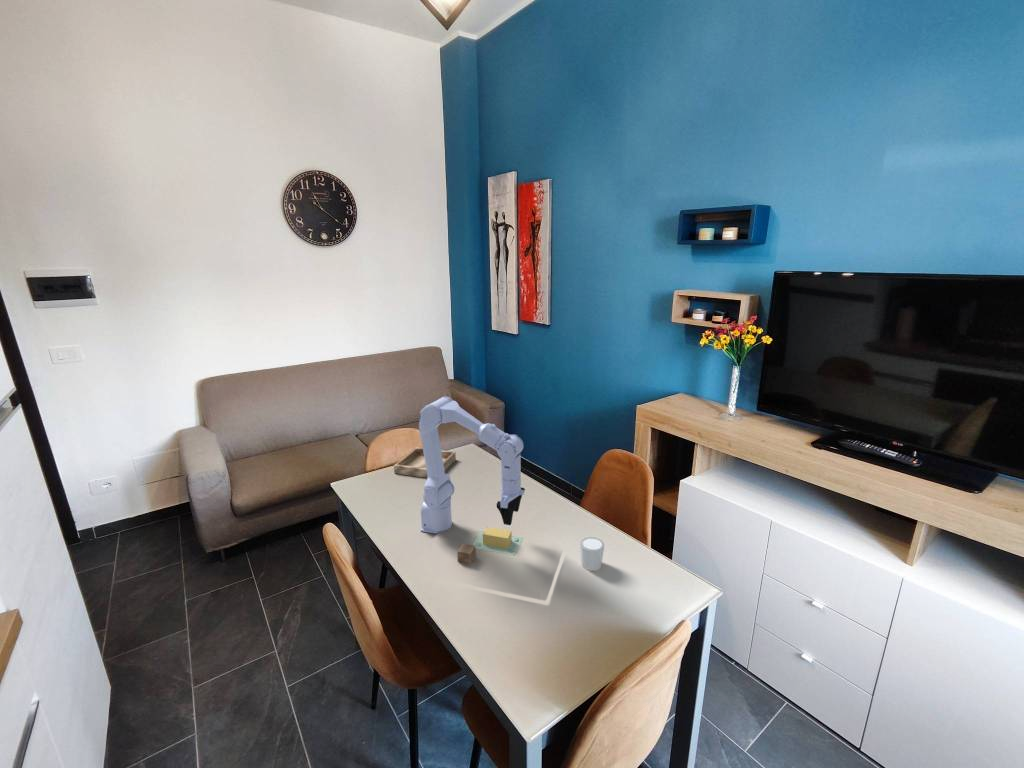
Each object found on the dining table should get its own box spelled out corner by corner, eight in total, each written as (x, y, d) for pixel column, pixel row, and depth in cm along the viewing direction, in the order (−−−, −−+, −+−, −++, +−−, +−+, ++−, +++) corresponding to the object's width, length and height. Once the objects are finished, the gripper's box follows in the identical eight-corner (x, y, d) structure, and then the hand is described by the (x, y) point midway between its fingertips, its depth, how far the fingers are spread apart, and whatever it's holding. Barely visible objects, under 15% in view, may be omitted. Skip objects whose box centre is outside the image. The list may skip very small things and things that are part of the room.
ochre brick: (482, 544, 145) (482, 534, 144) (487, 536, 148) (487, 526, 147) (507, 548, 142) (507, 538, 141) (511, 541, 146) (511, 531, 145)
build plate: (470, 550, 143) (470, 546, 143) (481, 533, 152) (481, 530, 151) (514, 558, 139) (514, 554, 139) (523, 540, 148) (523, 537, 147)
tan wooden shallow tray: (394, 473, 194) (393, 465, 193) (416, 454, 211) (416, 447, 210) (436, 479, 188) (436, 471, 187) (455, 459, 205) (455, 452, 204)
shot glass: (605, 559, 138) (606, 539, 136) (601, 574, 132) (602, 552, 130) (581, 555, 141) (582, 534, 139) (577, 569, 134) (577, 548, 132)
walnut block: (457, 564, 137) (457, 551, 136) (463, 556, 141) (462, 543, 139) (470, 567, 136) (470, 553, 134) (475, 559, 139) (475, 545, 138)
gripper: (517, 490, 131) (517, 532, 135) (530, 467, 145) (530, 507, 148) (493, 486, 133) (493, 528, 137) (508, 464, 146) (508, 503, 150)
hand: (511, 517), depth 143 cm, fingers open, 7 cm apart
